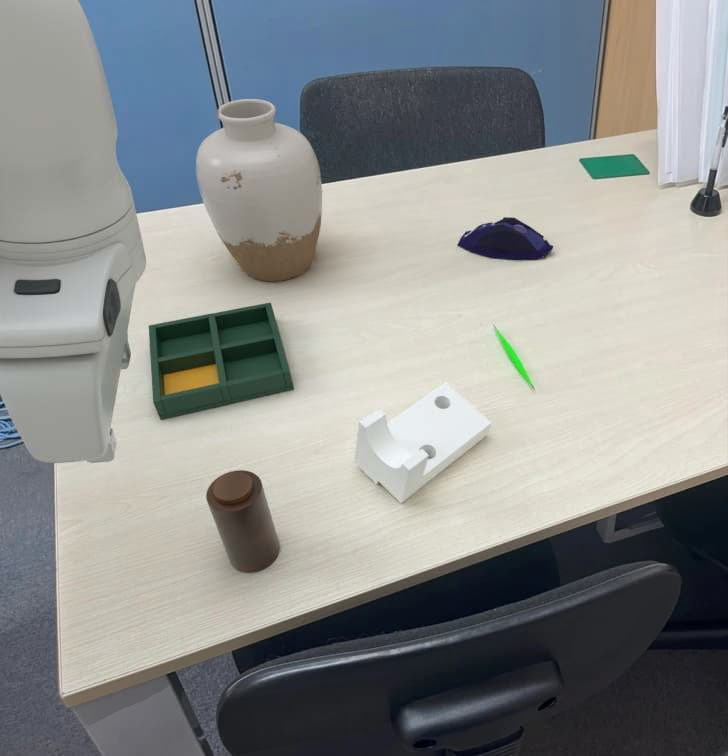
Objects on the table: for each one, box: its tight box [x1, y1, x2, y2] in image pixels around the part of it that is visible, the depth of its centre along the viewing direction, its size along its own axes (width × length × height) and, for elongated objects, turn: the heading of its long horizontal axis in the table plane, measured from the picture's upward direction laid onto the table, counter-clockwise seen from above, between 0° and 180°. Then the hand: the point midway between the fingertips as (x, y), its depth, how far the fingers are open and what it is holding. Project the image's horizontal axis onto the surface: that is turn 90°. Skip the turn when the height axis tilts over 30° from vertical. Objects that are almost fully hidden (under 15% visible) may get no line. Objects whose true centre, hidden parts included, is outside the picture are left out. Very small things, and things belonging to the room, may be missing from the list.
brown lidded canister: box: [205, 469, 281, 574], centre depth 64 cm, size 5×5×10 cm
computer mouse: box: [456, 216, 554, 261], centre depth 109 cm, size 9×15×4 cm, turn 74°
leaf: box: [493, 325, 535, 389], centre depth 89 cm, size 1×14×1 cm, turn 22°
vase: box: [195, 98, 323, 282], centre depth 97 cm, size 16×16×23 cm
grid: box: [148, 302, 295, 421], centre depth 86 cm, size 15×15×3 cm
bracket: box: [353, 381, 492, 504], centre depth 74 cm, size 13×7×8 cm, turn 139°
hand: (110, 406), depth 52 cm, fingers open, 8 cm apart
